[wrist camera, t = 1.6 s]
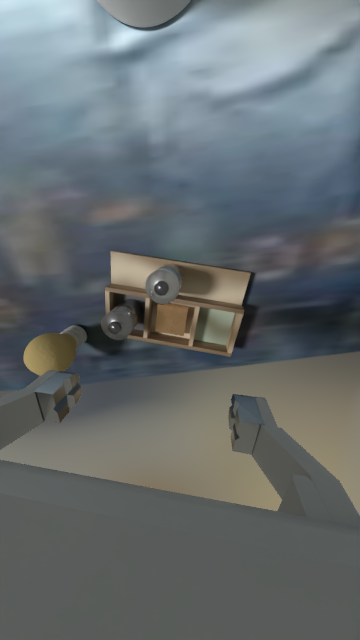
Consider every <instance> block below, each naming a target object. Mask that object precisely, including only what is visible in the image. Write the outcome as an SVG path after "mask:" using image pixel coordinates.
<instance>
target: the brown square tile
mask: <svg viewBox="0 0 360 640" xmlns="http://www.w3.org/2000/svg"><path fill="white" fill-rule="evenodd" d="M187 313H188V307H186V306H180V305H174V304H168V303H167V304H159V303H158V305H157V316H156V327H155V331H157V332H163V333H168V334H174V335H180V336H184V332H185V325H186V319H187Z"/></svg>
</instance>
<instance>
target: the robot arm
mask: <svg viewBox="0 0 360 640" xmlns="http://www.w3.org/2000/svg"><path fill="white" fill-rule="evenodd" d="M97 1H98V2H99V4H100V5H101V6H102V7H103V8H104V9H105V10H106V11H107V12H108V13H109V14H110V15H112V16H113V17H114V18H116V19H117V20H119V21H121V22H123V23H125V24H128V25H131V26H134V27H152V26H156V25H160V24H162V23H164V22H166V21H168V20H170V19H171V18H173V17H174V16H176V15H177V14H178V13H179V12H181V11H182V10H183V9H184V8H185V7H186V6H187V5H188V4H189V2H190V1H191V0H97ZM79 381H80V378H79V375H78V374H75V373H69V372H63V371H55V370H49V371H47V372H45V373H44V374H43V375H42V376H40V377H39V378H38V379H36V380H35V381H34V382H32V383H31V384H30V385H28V386H27V387H26V388H25V389H23V390H18V391H15V392H13V393H10V394H8V395H5V396H2V397H0V450H1V449H2V448H4V447H5V446H7V445H9V444H10V443H12V442H13V441H15V440H16V439H18V438H20V437H21V436H23V435H24V434H26V433H27V432H29V431H31V430H32V429H34V428H35V427H37V426H38V425H40V424H42V423H43V422H44V421H46V422H55V423H61V422H62V420H63V419H64V418H65V417H66V415H67V414H68V413H69V411H70V407H72V406H74V405H76V404H77V402H78V401H79V399H80V396H81V393H82V388H81V386H80V385H79V384H78V382H79ZM231 403H232V406H231V407H230V408H229V428H230V429H231V430H232V433H231V443H232V449H233V451H236V452H241V453H246V454H251V455H252V456H253V458H254V459H255V461H256V462H257V463H258V465H259V467H260V468H261V469H262V471H263V472H264V474H265V475H266V477H267V478H268V480H269V481H270V483H271V484H272V485H273V487H274V488H275V490H276V491H277V493H278V494H279V495H280V497H281V498H282V502H281V504H280V506H279V509H278V511H272V510H267V509H261V508H256V507H251V506H245V505H240V504H235V503H229V502H224V501H218V500H213V499H208V498H203V497H197V496H192V495H186V494H181V493H175V492H170V491H165V490H159V489H154V488H149V487H143V486H138V485H133V484H127V483H122V482H117V481H111V480H106V479H100V478H95V477H89V476H84V475H79V474H74V473H68V472H63V471H57V470H52V469H47V468H41V467H36V466H30V465H25V464H20V463H14V462H9V461H4V460H0V640H360V516H359V514H358V513H357V510H356V509H355V507H354V505H353V503H352V502H351V500H350V498H349V497H348V495H347V493H346V491H345V490H344V488H343V486H342V485H341V483H340V481H339V480H338V479H336V477H334V476H333V475H332V474H331V473H330V472H329V471H328V470H327V469H326V468H325V467H323V466H322V465H321V464H320V463H319V462H318V461H317V460H316V459H315V458H314V457H313V456H311V455H310V454H309V453H308V452H307V451H306V450H305V449H304V448H303V447H301V445H299V444H298V443H297V442H296V441H295V440H294V439H293V438H292V437H291V436H290V435H288V434H287V433H286V432H285V431H284V430H283V429H282V428H279V427H277V424H276V422H275V419H274V417H273V415H272V412H271V410H270V408H269V405H268V403H267V400H266V399H265V398H262V397H252V396H244V395H236V394H233V395H232V398H231Z"/></svg>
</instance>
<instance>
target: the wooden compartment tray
mask: <svg viewBox="0 0 360 640" xmlns="http://www.w3.org/2000/svg"><path fill="white" fill-rule="evenodd" d="M165 264H175V265H177V266H178V267H180V268H181V270H182V271H183V274H184V282H183V285H182V287H181V289H180V291H179V293H178V295H177V297H176V298H175V300H173V301H172V302H170V303H168V304H174V305H180V306H186V307H188V313H187V319H186V325H185V332H184V336H180V335H174V334H168V333H163V332H157V331H155V327H156V316H157V305H158V303H156V302H154V301H153V300H152V299H151V298H150V297H149V296H148V294H147V292H146V288H145V284H146V280H147V278H148V276H149V275H150V274H151V273H153V272H154V271H156V270H157V269H159V268H160V267H162V266H163V265H165ZM250 274H251V273H250V272H248V271H241V270H235V269H228V268H222V267H215V266H209V265H203V264H196V263H190V262H183V261H177V260H171V259H164V258H158V257H151V256H145V255H139V254H132V253H126V252H119V251H111V284H110V285H108V286H106V287H105V299H106V314H107V313H109V312H110V311H111V310H112V309H114V308H115V307H116V306H118V305H119V304H120V303H122V302H123V301H124V300H126V299H134V300H137V301H138V302H139V303H140V304H141V305H142V306H143V309H144V316H143V318H142V319H141V320H140V322H139V323H138V324H137V325H136V327H135V328H134V329H133V330H132V332H131V333H130V334H129V336H128V337H127V338H130V339H135V340H141V341H146V342H152V343H157V344H163V345H169V346H174V347H180V348H185V349H191V350H196V351H202V352H207V353H213V354H218V355H224V356H229V357H231V353H232V350H233V347H234V344H235V340H236V337H237V334H238V330H239V327H240V324H241V320H242V317H243V314H244V311H245V310H244V308H243V307H242V302H243V298H244V295H245V292H246V288H247V285H248V281H249V278H250Z"/></svg>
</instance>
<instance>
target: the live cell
mask: <svg viewBox="0 0 360 640" xmlns="http://www.w3.org/2000/svg"><path fill="white" fill-rule="evenodd" d="M183 282H184V274H183V271H182V270H181V268H180V267H178V266H177V265H175V264H165V265H163V266H162V267H160V268H159V269H157V270H156V271H154V272H153V273H151V274H150V275H149V276H148V278H147V280H146V284H145V288H146V292H147V294H148V296H149V297H150V298H151V299H152V300H153V301H154V302H156V303H159V304H167V303H170V302H172V301H173V300H175V298H176V297H177V295H178V293H179V291H180V289H181V287H182V285H183Z"/></svg>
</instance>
